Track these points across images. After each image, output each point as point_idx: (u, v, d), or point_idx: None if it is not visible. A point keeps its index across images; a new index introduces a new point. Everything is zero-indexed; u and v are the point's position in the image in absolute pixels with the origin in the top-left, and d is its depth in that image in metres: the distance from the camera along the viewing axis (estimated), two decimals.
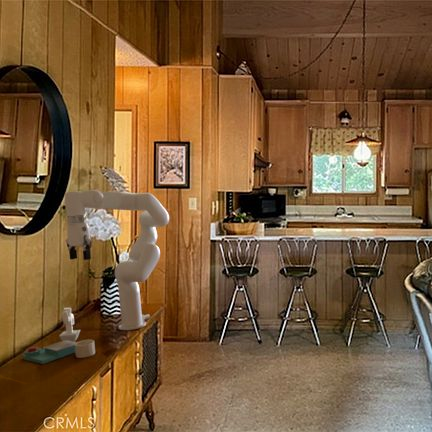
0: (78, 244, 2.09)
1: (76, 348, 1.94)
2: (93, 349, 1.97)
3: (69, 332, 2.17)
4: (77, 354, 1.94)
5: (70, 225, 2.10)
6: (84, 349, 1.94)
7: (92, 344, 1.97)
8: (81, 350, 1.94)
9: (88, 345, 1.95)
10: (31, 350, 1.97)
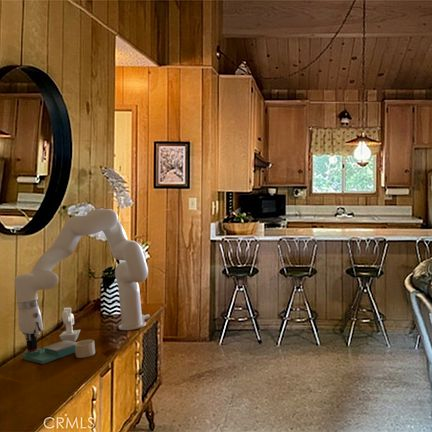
0: (29, 332, 1.95)
1: (76, 348, 1.94)
2: (93, 349, 1.97)
3: (69, 332, 2.17)
4: (77, 354, 1.94)
5: (21, 311, 1.96)
6: (84, 349, 1.94)
7: (92, 344, 1.97)
8: (81, 350, 1.94)
9: (88, 345, 1.95)
10: None
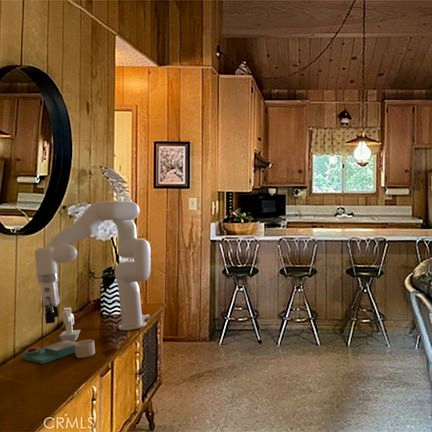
0: None
1: (76, 348, 1.94)
2: (93, 349, 1.97)
3: (69, 332, 2.17)
4: (77, 354, 1.94)
5: None
6: (84, 349, 1.94)
7: (92, 344, 1.97)
8: (81, 350, 1.94)
9: (88, 345, 1.95)
10: (31, 350, 1.97)
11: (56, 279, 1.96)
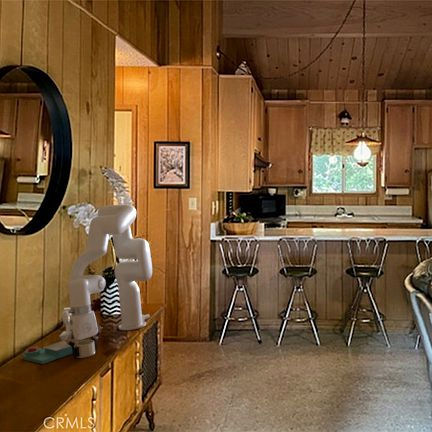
0: None
1: None
2: (93, 349, 1.97)
3: None
4: None
5: None
6: (84, 349, 1.94)
7: (92, 344, 1.97)
8: (81, 350, 1.94)
9: (88, 345, 1.95)
10: (31, 350, 1.97)
11: (82, 313, 1.93)
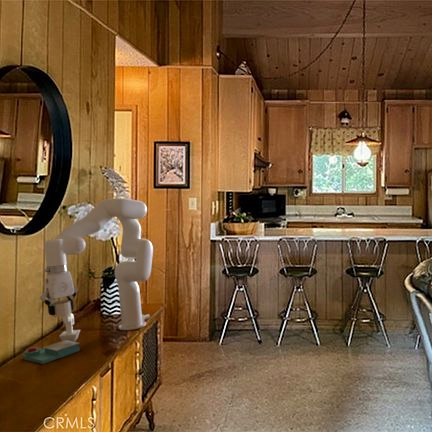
0: None
1: None
2: (69, 308, 1.99)
3: (69, 332, 2.17)
4: None
5: None
6: (60, 308, 1.96)
7: (68, 303, 1.99)
8: (56, 309, 1.96)
9: (64, 304, 1.97)
10: (31, 350, 1.97)
11: (58, 272, 1.95)
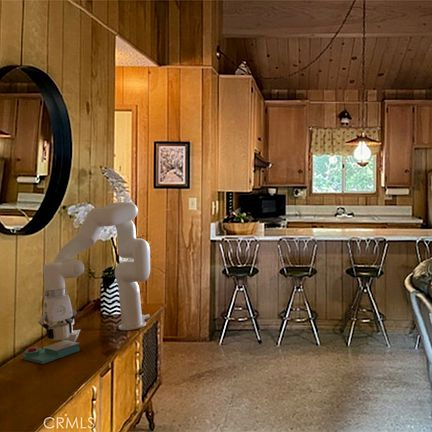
0: None
1: None
2: (67, 332, 2.00)
3: None
4: None
5: None
6: (58, 332, 1.97)
7: (66, 327, 2.00)
8: (55, 333, 1.97)
9: (62, 328, 1.98)
10: (31, 350, 1.97)
11: (56, 296, 1.97)
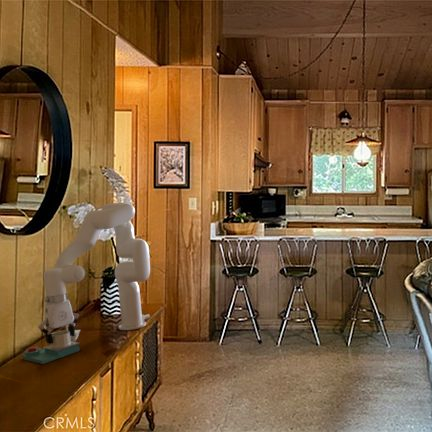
0: None
1: None
2: (68, 340, 2.01)
3: None
4: (52, 344, 1.98)
5: None
6: (59, 340, 1.98)
7: (67, 335, 2.00)
8: (56, 341, 1.97)
9: (63, 335, 1.98)
10: (31, 350, 1.97)
11: (57, 301, 1.97)
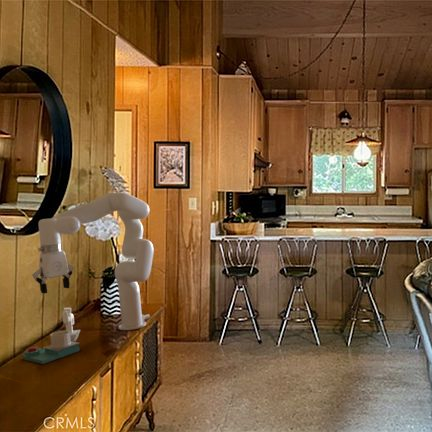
0: None
1: (51, 338, 1.98)
2: (68, 340, 2.01)
3: None
4: (52, 344, 1.98)
5: None
6: (59, 340, 1.98)
7: (67, 335, 2.00)
8: (56, 341, 1.97)
9: (63, 335, 1.98)
10: (31, 350, 1.97)
11: (52, 251, 1.95)
